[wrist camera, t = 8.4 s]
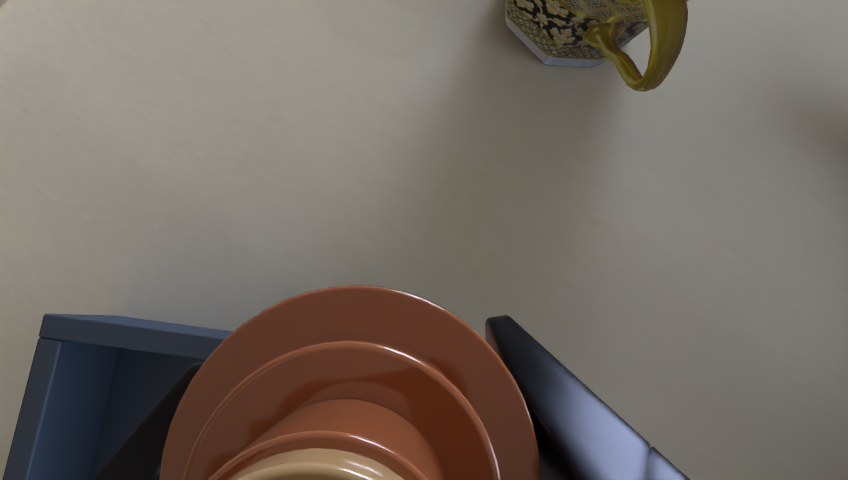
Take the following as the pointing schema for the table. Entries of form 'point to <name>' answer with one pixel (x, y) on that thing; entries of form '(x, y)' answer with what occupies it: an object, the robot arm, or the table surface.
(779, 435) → the table surface
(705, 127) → the table surface
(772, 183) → the table surface
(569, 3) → the ceramic cup
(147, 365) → the bin
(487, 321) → the robot arm
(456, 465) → the bottle
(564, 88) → the table surface
